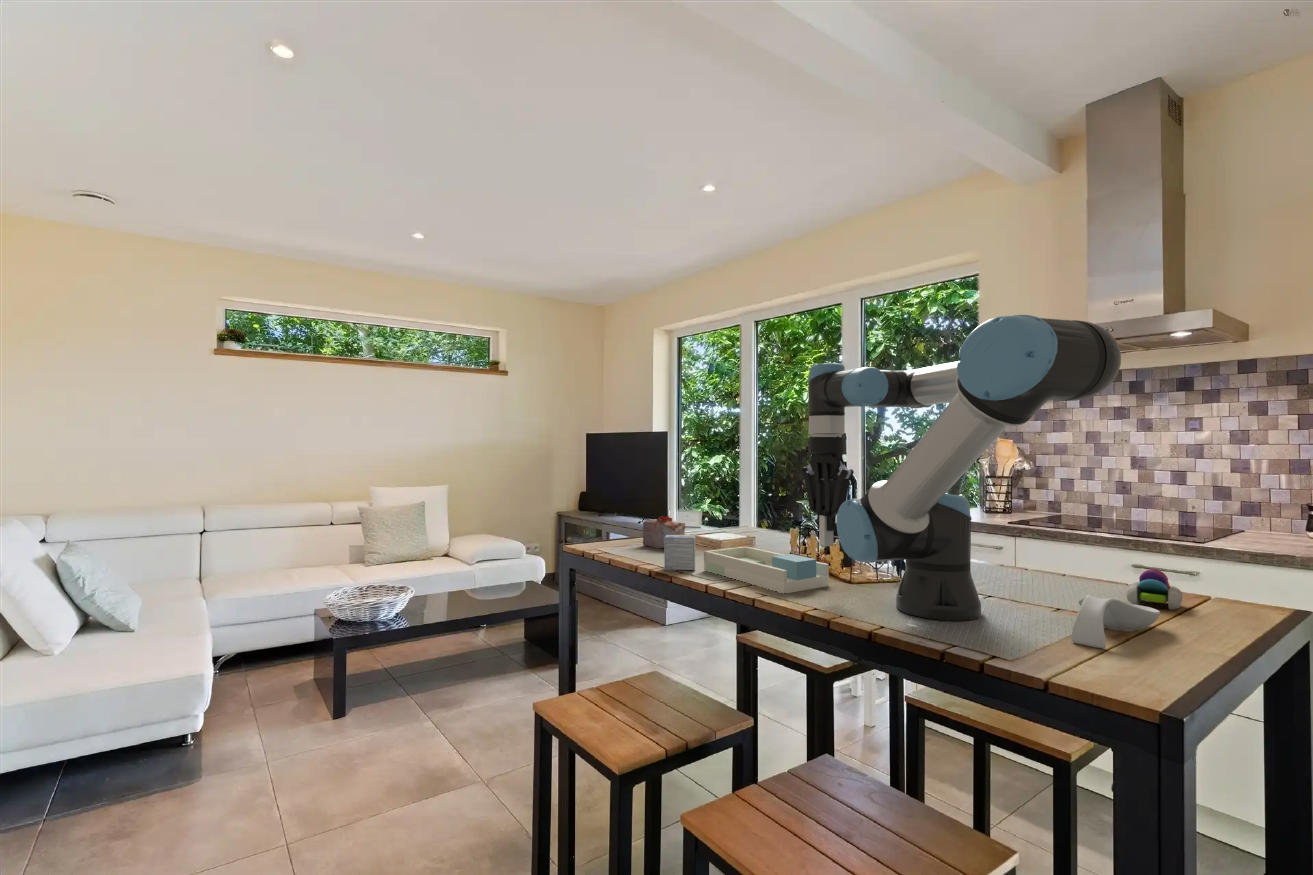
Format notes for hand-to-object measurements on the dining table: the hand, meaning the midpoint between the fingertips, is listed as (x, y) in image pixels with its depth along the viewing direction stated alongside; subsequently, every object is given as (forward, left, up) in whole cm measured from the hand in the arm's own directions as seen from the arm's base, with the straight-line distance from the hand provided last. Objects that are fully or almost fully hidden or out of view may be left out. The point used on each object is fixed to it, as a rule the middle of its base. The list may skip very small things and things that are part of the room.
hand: (826, 545), depth 135 cm
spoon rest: (-45, -21, -11) cm, 51 cm away
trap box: (+20, 0, -11) cm, 23 cm away
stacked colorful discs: (-41, -50, -11) cm, 65 cm away
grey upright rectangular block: (+40, +11, -11) cm, 43 cm away
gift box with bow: (+71, -4, -11) cm, 72 cm away
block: (+10, 0, -8) cm, 13 cm away
